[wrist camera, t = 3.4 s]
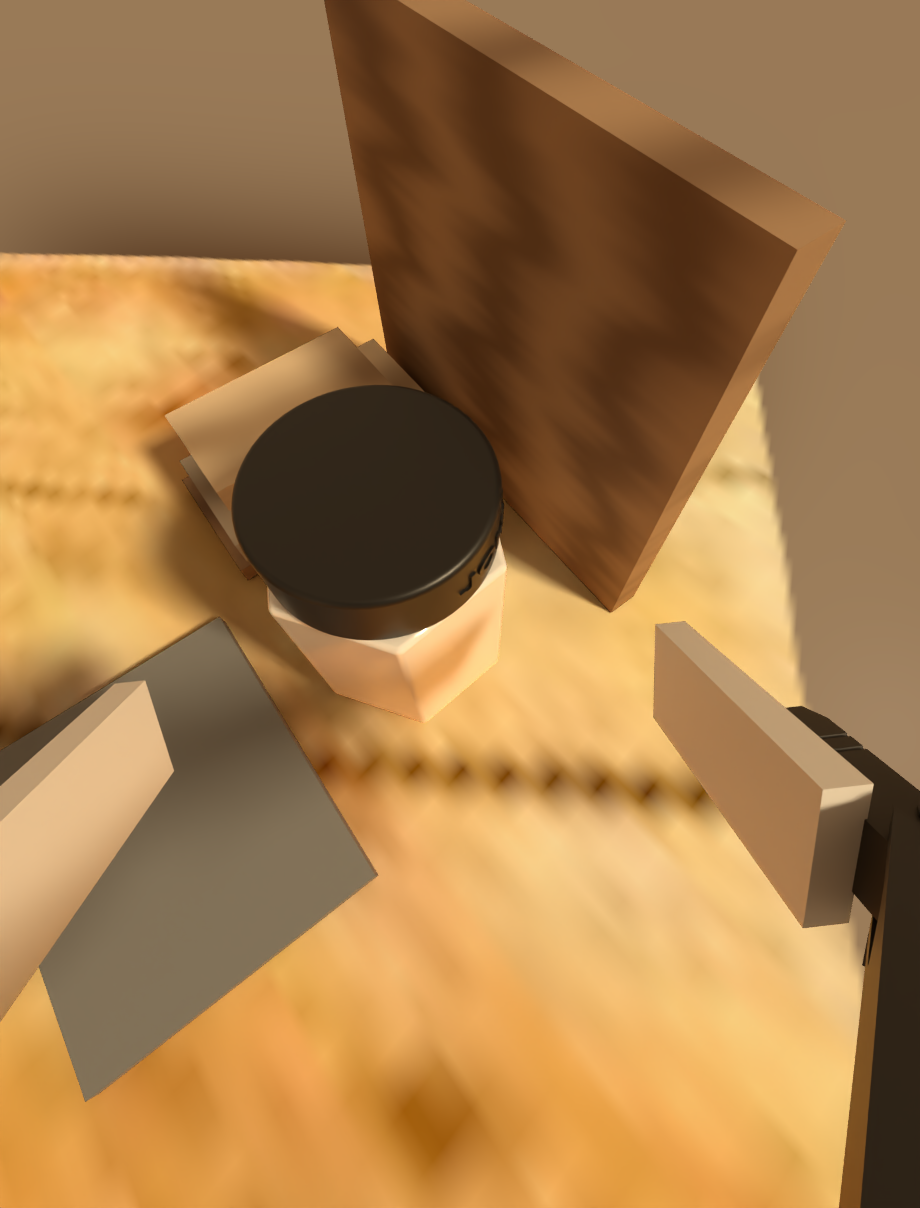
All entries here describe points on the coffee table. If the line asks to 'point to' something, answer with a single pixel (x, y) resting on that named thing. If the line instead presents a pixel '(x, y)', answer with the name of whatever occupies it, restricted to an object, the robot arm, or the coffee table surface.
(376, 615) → the jar
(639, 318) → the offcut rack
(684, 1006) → the coffee table surface
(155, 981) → the rubber mat
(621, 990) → the coffee table surface
